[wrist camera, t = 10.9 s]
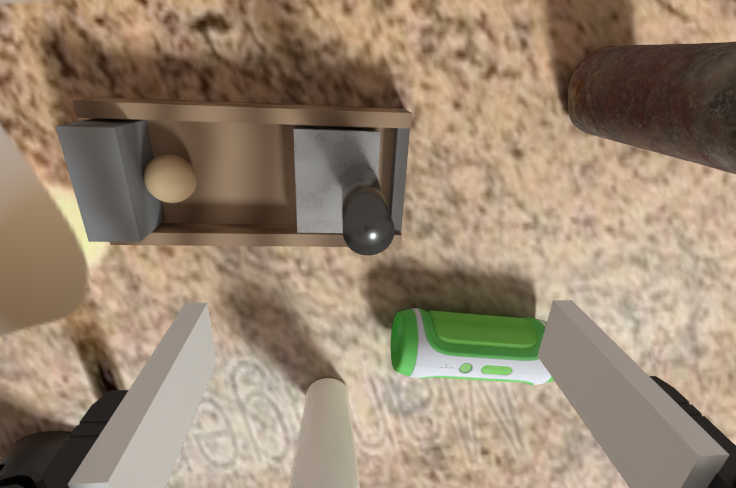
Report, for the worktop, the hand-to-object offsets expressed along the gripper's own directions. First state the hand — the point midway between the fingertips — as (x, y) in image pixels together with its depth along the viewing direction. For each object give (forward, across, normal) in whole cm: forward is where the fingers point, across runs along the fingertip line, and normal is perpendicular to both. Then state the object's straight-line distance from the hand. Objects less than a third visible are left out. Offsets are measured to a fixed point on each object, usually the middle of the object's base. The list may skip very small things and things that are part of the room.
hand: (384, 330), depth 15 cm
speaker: (+25, +13, -18) cm, 33 cm away
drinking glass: (+25, -3, -28) cm, 37 cm away
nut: (+21, -16, 0) cm, 26 cm away
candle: (+24, +22, +8) cm, 34 cm away
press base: (+24, -9, 0) cm, 26 cm away
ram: (+22, -2, 0) cm, 23 cm away
